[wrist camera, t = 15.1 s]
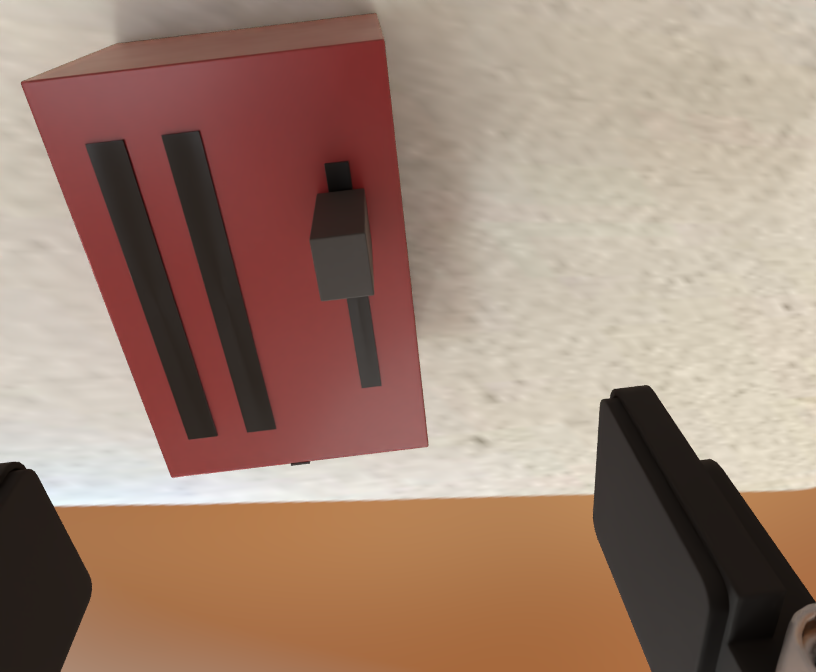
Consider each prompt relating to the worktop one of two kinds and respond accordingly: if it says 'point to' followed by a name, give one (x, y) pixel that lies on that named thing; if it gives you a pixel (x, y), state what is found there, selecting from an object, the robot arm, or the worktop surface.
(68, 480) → the worktop surface
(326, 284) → the slider
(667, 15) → the worktop surface
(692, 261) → the worktop surface
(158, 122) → the toaster
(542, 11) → the worktop surface
